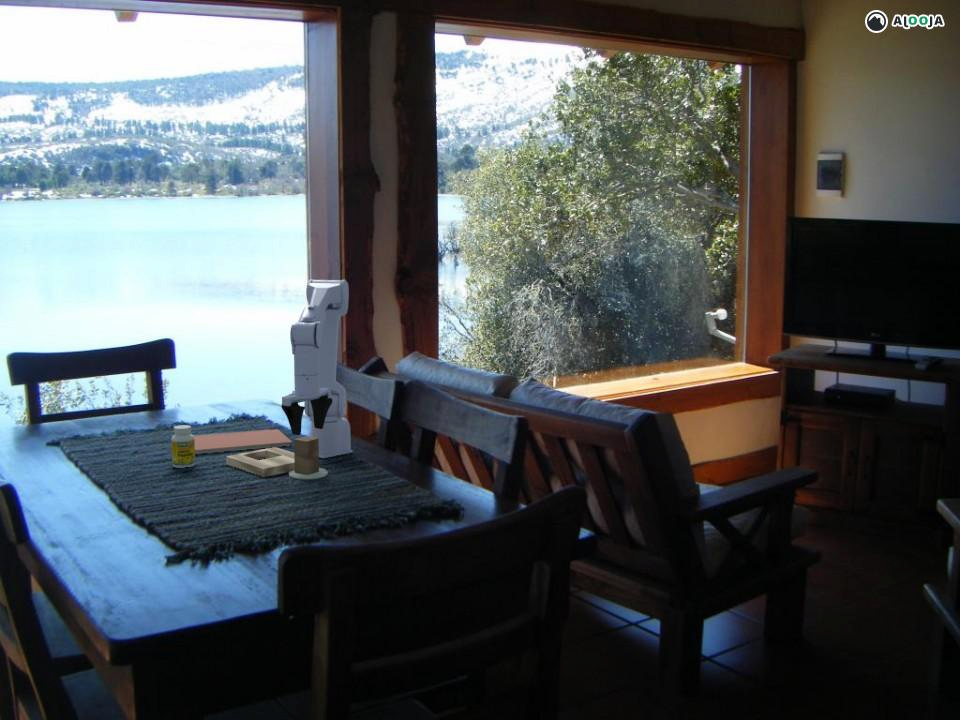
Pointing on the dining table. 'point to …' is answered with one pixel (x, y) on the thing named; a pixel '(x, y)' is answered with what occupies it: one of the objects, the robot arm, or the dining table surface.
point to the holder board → (263, 461)
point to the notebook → (240, 441)
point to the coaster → (311, 476)
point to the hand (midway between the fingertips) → (307, 431)
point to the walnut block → (306, 455)
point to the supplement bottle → (183, 447)
